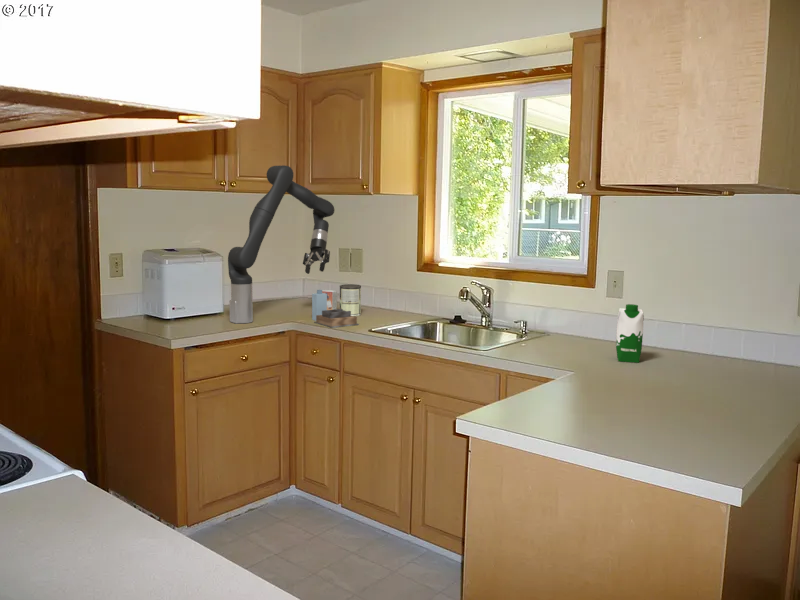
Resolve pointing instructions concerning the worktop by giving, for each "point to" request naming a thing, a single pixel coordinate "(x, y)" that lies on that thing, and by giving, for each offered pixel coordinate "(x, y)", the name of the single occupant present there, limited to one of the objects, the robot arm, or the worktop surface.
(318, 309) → the blue rectangular bottle
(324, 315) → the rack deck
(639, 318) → the milk carton
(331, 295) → the small box
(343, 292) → the coffee can
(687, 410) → the worktop surface
